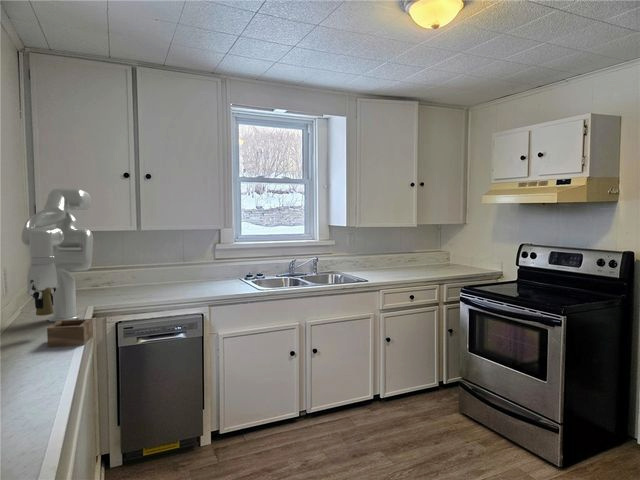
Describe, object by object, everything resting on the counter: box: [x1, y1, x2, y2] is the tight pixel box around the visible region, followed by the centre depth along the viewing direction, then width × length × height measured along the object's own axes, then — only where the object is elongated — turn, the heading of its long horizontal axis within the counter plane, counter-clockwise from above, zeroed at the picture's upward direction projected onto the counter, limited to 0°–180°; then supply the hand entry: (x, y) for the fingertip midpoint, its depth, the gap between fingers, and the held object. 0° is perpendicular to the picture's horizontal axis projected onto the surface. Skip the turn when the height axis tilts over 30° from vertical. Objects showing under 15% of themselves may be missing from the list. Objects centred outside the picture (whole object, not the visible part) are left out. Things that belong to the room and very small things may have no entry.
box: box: [46, 318, 94, 348], centre depth 165 cm, size 12×12×7 cm
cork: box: [35, 287, 54, 316], centre depth 171 cm, size 6×6×11 cm
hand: (44, 306), depth 172 cm, fingers closed on cork, 4 cm apart
